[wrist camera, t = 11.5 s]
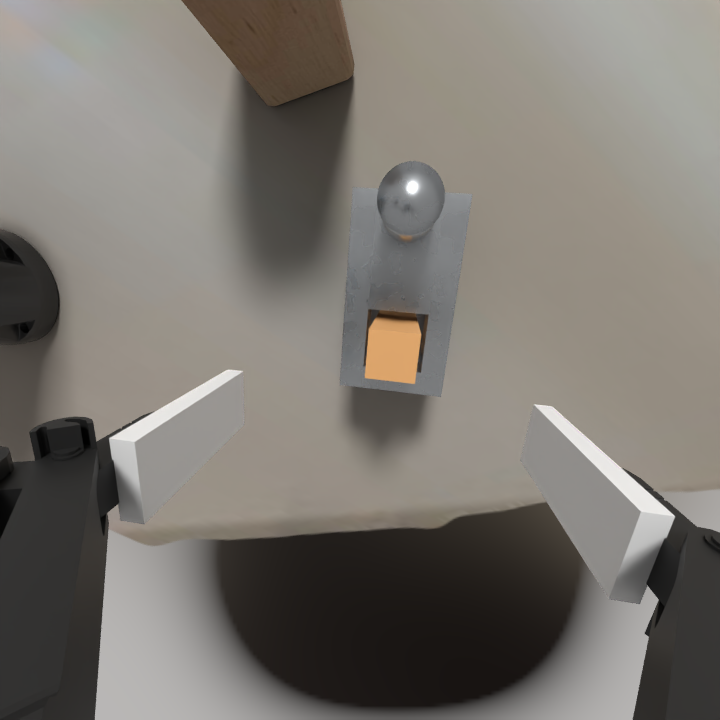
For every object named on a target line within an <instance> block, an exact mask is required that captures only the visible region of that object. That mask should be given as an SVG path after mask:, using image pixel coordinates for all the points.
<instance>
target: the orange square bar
mask: <svg viewBox="0 0 720 720" xmlns="http://www.w3.org/2000/svg"><path fill="white" fill-rule="evenodd" d="M420 341H421V331H420V328H419V324H418V321H417V317H416V314H415V313H406V312H395V311H385V310H380V311H379V313H378V315H377V316H376V318H375V320H374V321H373V323H372V325H371V326H370V328H369V334H368V345H367V357H366V368H365V378H368V379H377V380H385V381H394V382H402V383H411V384H415V379H416V371H417V364H418V356H419V348H420Z"/></svg>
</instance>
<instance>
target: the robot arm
mask: <svg viewBox="0 0 720 720" xmlns="http://www.w3.org/2000/svg"><path fill="white" fill-rule="evenodd" d="M57 313H58V293H57V288H56V284H55V281H54V278H53V276H52V274H51V271H50V270H49V268H48V266H47V264H46V263H45V261H44V260H43V258H42V257H41V256H40V254H39V253H38V252H37V251H36V250H35V249H34V248H33V247H32V246H31V245H30V244H29V243H27V242H26V241H25V240H23V239H22V238H20V237H19V236H17V235H15V234H13V233H10V232H8V231H5V230H0V345H15V344H21V343H26V342H31V341H35V340H38V339H40V338H42V337H43V336H44V335H46V334H47V333H48V332H49V331H50V329H51V328H52V326H53V324H54V322H55V320H56V317H57ZM243 425H244V380H243V371H236V370H226V371H224V372H223V373H221V374H219V375H217V376H216V377H214V378H212V379H211V380H209V381H207V382H205V383H204V384H202V385H200V386H198V387H197V388H195V389H193V390H192V391H190V392H188V393H186V394H185V395H183V396H181V397H179V398H178V399H176V400H174V401H173V402H171V403H169V404H167V405H166V406H164V407H162V408H161V409H159V410H157V411H154V412H151V413H148V414H145V415H143V416H141V417H139V418H137V419H136V420H134V421H132V423H129V424H127V425H125V426H123V427H122V429H118V430H116V431H115V432H113V433H111V434H109V435H107V436H106V437H104V438H102V439H100V440H99V441H97V442H96V437H95V431H94V424H93V421H92V419H89V418H87V417H68V418H62V419H57V420H53V421H49V422H46V423H43V424H41V425H39V426H37V427H35V428H34V429H32V430H31V431H30V432H29V433H30V438H31V442H32V447H33V452H34V456H35V461H26V462H12V458H11V454H10V451H9V449H8V448H6V447H2V446H0V720H95V707H96V693H97V679H98V665H99V651H100V637H101V623H102V608H103V596H104V582H105V581H104V580H105V567H106V553H107V539H108V526H109V522H108V515H107V513H108V512H109V511H110V510H111V509H112V508H114V507H115V506H116V505H117V504H118V505H119V512H120V519H121V521H127V522H134V523H140V524H145V523H146V522H147V521H148V520H149V519H150V518H151V517H152V516H153V515H154V514H155V513H156V512H157V511H158V510H159V509H160V508H161V507H162V506H163V505H164V504H165V503H166V502H167V501H168V500H169V499H170V498H171V497H172V496H173V495H174V494H175V493H176V492H177V491H178V490H179V489H180V488H181V487H182V486H183V485H184V484H185V483H186V482H187V481H188V480H189V479H190V478H191V477H192V476H193V475H194V474H195V473H196V472H197V471H198V470H199V469H200V468H201V467H202V466H203V465H204V464H205V463H206V462H207V461H208V460H209V459H210V458H211V457H212V456H213V455H214V454H215V453H216V452H217V451H218V450H219V449H220V448H221V447H222V446H223V445H224V444H225V443H226V442H227V441H228V440H229V439H230V438H231V437H232V436H233V435H234V434H235V433H236V432H237V431H238V430H239V429H240V428H241V427H242V426H243ZM520 461H521V462H522V464H523V465H524V467H525V468H526V470H527V472H528V473H529V475H530V476H531V478H532V479H533V481H534V482H535V484H536V486H537V487H538V489H539V490H540V492H541V493H542V495H543V497H544V498H545V500H546V501H547V503H548V504H549V506H550V508H551V509H552V511H553V512H554V514H555V515H556V517H557V519H558V520H559V522H560V523H561V525H562V526H563V528H564V530H565V531H566V533H567V534H568V536H569V537H570V539H571V540H572V542H573V544H574V545H575V547H576V548H577V550H578V551H579V553H580V555H581V556H582V558H583V559H584V561H585V562H586V564H587V566H588V567H589V569H590V570H591V572H592V574H593V575H594V577H595V578H596V580H597V581H598V583H599V584H600V586H601V587H602V589H603V591H604V592H605V594H606V595H607V597H608V598H609V599H611V600H618V601H624V602H630V603H636V604H640V602H641V600H642V597H643V595H644V592H645V590H646V587H647V585H648V586H649V588H650V589H651V590H652V592H653V593H654V594H655V595H656V597H657V598H658V599H659V601H658V603H657V606H656V608H655V610H654V613H653V615H652V617H651V620H650V622H649V624H648V627H647V629H646V632H645V634H646V635H647V636H649V640H648V645H647V650H646V655H645V660H644V665H643V670H642V675H641V680H640V685H639V691H638V696H637V701H636V706H635V711H634V716H633V720H720V533H719V532H716V531H714V530H711V529H706V528H701V527H697V526H695V525H694V524H693V523H692V522H690V521H689V520H688V519H687V518H686V517H685V516H684V515H683V514H681V513H680V512H679V511H678V510H677V509H676V508H674V507H673V506H672V505H671V504H670V503H668V502H667V501H665V500H664V498H663V497H662V496H661V495H659V494H658V493H657V492H656V491H653V489H652V488H651V487H650V486H649V485H648V484H647V483H645V482H644V481H643V480H642V479H641V478H639V477H637V476H636V475H634V474H632V473H631V472H629V471H627V470H625V469H624V468H620V467H619V466H618V465H617V464H616V463H615V462H614V461H613V460H611V459H610V458H609V457H608V456H607V455H606V454H605V453H604V452H603V451H601V450H600V449H599V448H598V447H597V446H596V445H595V444H594V443H592V442H591V441H590V440H589V439H588V438H587V437H586V436H585V435H583V434H582V433H581V432H580V431H579V430H578V429H577V428H576V427H574V426H573V425H572V424H571V423H570V422H569V421H568V420H567V419H566V418H564V417H563V416H562V415H561V414H560V413H559V412H558V411H557V410H555V409H554V408H553V407H552V406H544V405H535V404H534V405H533V409H532V413H531V417H530V421H529V426H528V430H527V434H526V438H525V442H524V446H523V451H522V455H521V459H520Z"/></svg>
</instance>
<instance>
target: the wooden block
mask: <svg viewBox="0 0 720 720" xmlns="http://www.w3.org/2000/svg"><path fill="white" fill-rule="evenodd" d="M182 1H183V3H184V4H185V5H186V6H187V8H188V9H189V10H190V11H191V13H192V14H193V15H194V16H195V17H196V19H197V20H198V21H199V22H200V24H201V25H202V26H203V27H204V28H205V30H206V31H207V32H208V33H209V35H210V36H211V37H212V38H213V39H214V41H215V42H216V43H217V44H218V46H219V47H220V48H221V49H222V50H223V52H224V53H225V54H226V55H227V57H228V58H229V59H230V60H231V61H232V63H233V64H234V65H235V66H236V68H237V69H238V70H239V71H240V73H241V74H242V75H243V76H244V77H245V79H246V80H247V81H248V82H249V84H250V85H251V86H252V87H253V88H254V90H255V91H256V92H257V93H258V95H259V96H260V97H261V98H262V99H263V101H264V102H265V103H266V104H267V105H268V106H278V105H280V104H283V103H286V102H288V101H291V100H294V99H297V98H299V97H302V96H305V95H307V94H310V93H313V92H316V91H318V90H321V89H324V88H326V87H329V86H332V85H335V84H337V83H340V82H343V81H345V80H348V79H349V78H350V77H351V76H353V71H354V60H353V55H352V51H351V46H350V41H349V36H348V32H347V27H346V22H345V17H344V13H343V8H342V3H341V0H182Z"/></svg>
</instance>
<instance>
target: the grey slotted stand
mask: <svg viewBox="0 0 720 720" xmlns="http://www.w3.org/2000/svg"><path fill="white" fill-rule="evenodd" d="M471 200H472V194H462V193H445V190H444V185H443V182H442V180H441V178H440V176H439V175H438V173H437V172H436V171H435V170H434V169H433V168H432V167H430V166H429V165H427V164H424V163H421V162H416V161H409V162H404V163H401V164H399V165H397V166H395V167H394V168H392V169H391V170H390V171H389V172H388V173H387V174H386V175H385V177H384V178H383V180H382V182H381V184H380V186H379V189H375V188H358V187H353V193H352V208H351V223H350V238H349V253H348V268H347V283H346V299H345V314H344V329H343V344H342V359H341V374H340V385H345V386H354V387H362V388H371V389H379V390H388V391H396V392H404V393H413V394H421V395H430V396H438V397H441V393H442V386H443V380H444V373H445V367H446V361H447V354H448V348H449V341H450V335H451V328H452V322H453V316H454V309H455V303H456V296H457V290H458V283H459V277H460V270H461V264H462V258H463V251H464V245H465V238H466V232H467V225H468V219H469V213H470V206H471ZM380 310H385V311H395V312H406V313H415V314H416V317H417V321H418V324H419V328H420V331H421V341H420V348H419V356H418V364H417V371H416V379H415V384H411V383H402V382H394V381H385V380H377V379H368V378H365V368H366V357H367V345H368V334H369V328H370V326H371V325H372V323H373V321H374V320H375V318H376V316H377V315H378V313H379V311H380Z"/></svg>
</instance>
